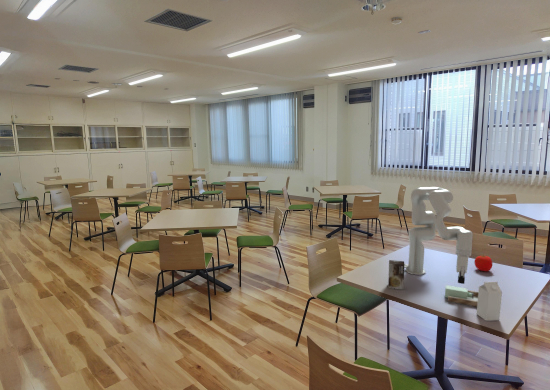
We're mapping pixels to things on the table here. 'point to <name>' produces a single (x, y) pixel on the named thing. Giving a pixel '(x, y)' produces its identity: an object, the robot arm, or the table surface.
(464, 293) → the bottle
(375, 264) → the table surface
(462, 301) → the brown white flat box
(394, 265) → the coffee box
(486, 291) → the milk carton
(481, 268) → the tomato
